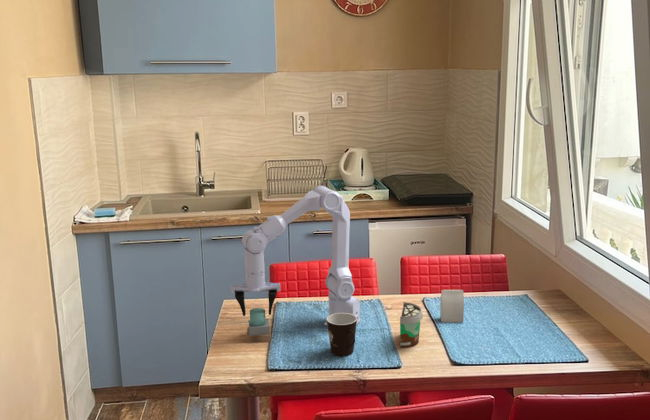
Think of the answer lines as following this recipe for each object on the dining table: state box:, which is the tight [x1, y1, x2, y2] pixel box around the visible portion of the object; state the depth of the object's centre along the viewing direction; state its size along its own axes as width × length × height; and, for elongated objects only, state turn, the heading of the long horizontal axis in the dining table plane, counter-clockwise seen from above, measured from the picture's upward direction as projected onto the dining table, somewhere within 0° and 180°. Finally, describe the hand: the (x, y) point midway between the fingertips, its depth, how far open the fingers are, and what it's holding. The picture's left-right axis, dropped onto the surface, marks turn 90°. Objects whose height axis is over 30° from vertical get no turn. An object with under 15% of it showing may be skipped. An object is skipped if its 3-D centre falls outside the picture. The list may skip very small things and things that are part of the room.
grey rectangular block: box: [439, 289, 465, 323], centre depth 204 cm, size 4×7×10 cm, turn 87°
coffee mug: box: [326, 313, 358, 357], centre depth 182 cm, size 12×9×10 cm
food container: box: [399, 301, 424, 349], centre depth 189 cm, size 12×6×10 cm, turn 168°
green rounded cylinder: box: [249, 307, 266, 326], centre depth 194 cm, size 5×5×4 cm
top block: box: [248, 318, 271, 336], centre depth 195 cm, size 6×6×2 cm
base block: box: [245, 325, 272, 344], centre depth 195 cm, size 7×7×2 cm
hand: (257, 314), depth 194 cm, fingers open, 7 cm apart
